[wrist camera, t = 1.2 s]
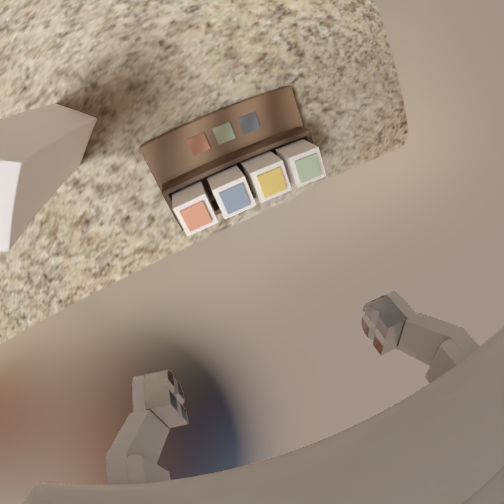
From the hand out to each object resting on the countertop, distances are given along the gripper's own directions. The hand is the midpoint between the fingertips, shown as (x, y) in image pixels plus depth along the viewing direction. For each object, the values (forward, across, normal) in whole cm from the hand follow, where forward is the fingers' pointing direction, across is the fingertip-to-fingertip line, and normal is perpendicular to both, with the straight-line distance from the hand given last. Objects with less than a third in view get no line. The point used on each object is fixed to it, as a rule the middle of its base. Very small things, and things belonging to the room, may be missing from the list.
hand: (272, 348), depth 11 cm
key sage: (+23, -10, 0) cm, 25 cm away
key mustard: (+23, -6, +1) cm, 24 cm away
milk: (+27, +14, -9) cm, 32 cm away
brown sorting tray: (+27, -4, 0) cm, 27 cm away
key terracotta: (+23, +2, +2) cm, 23 cm away
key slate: (+23, -2, +2) cm, 23 cm away
